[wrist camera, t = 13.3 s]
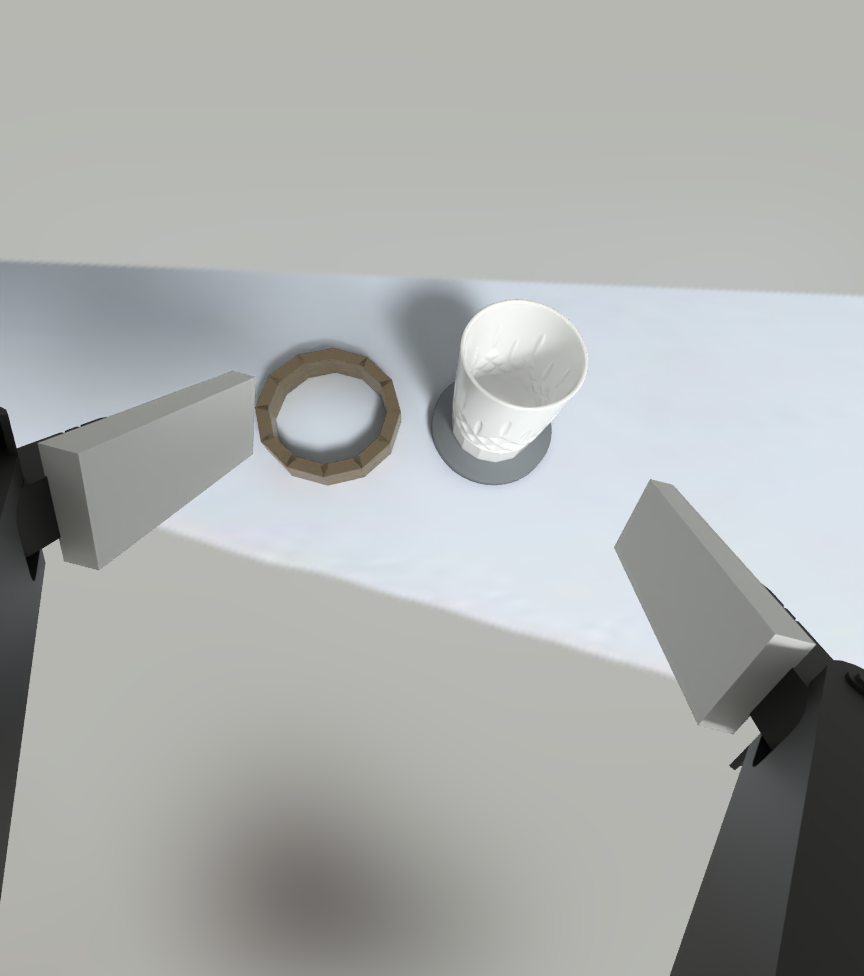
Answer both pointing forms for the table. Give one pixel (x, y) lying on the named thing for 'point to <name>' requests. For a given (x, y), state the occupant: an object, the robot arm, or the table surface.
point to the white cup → (514, 376)
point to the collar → (316, 366)
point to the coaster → (475, 467)
